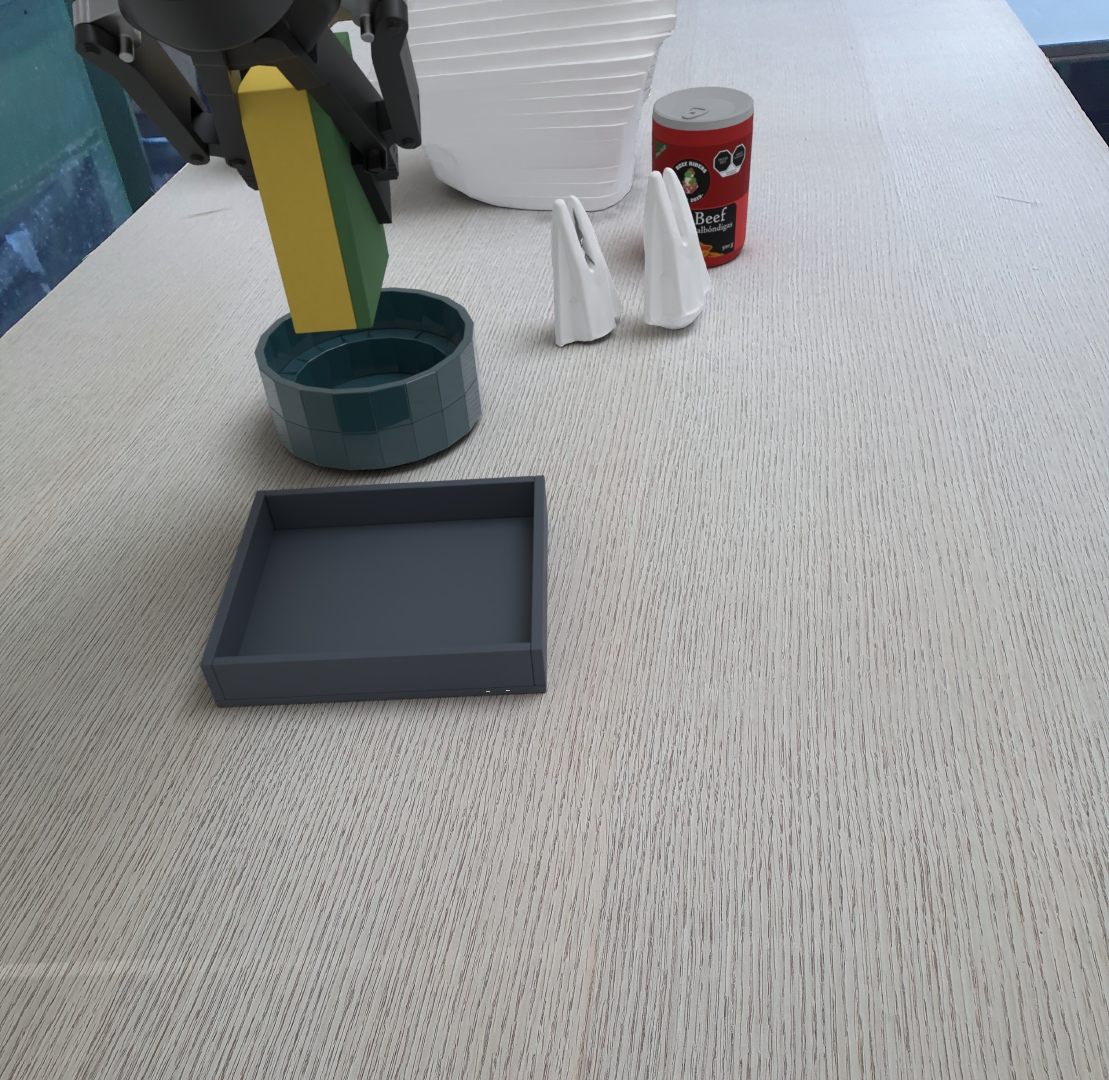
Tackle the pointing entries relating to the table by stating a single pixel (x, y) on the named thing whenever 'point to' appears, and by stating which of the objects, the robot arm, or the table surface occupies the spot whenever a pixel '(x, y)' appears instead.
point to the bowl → (375, 383)
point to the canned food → (708, 161)
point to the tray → (385, 594)
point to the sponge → (313, 205)
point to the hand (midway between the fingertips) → (340, 201)
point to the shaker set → (669, 266)
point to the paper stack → (535, 94)
